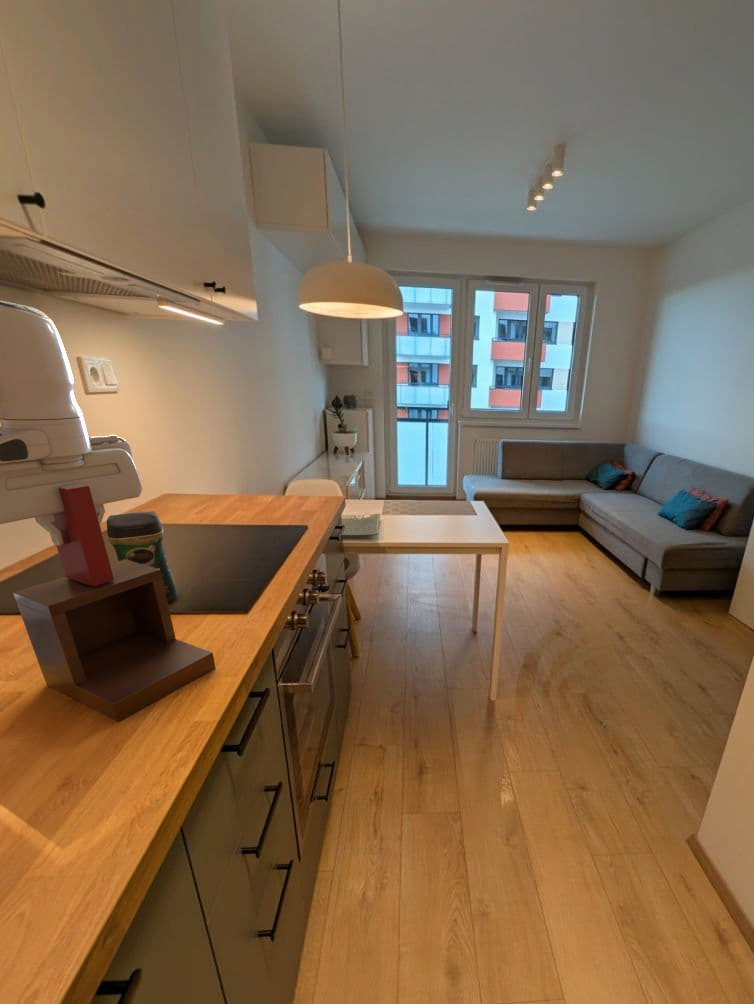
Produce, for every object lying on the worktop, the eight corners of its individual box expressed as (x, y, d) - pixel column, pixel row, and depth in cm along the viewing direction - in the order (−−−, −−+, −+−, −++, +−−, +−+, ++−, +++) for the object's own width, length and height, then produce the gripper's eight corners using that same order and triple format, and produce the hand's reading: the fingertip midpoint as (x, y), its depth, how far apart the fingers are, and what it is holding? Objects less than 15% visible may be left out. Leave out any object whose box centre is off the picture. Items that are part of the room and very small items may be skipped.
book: (66, 577, 76) (36, 482, 70) (87, 571, 78) (60, 479, 72) (93, 587, 73) (65, 488, 67) (114, 580, 75) (89, 484, 70)
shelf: (46, 685, 78) (12, 592, 71) (146, 641, 90) (125, 559, 84) (118, 722, 70) (88, 621, 64) (215, 668, 83) (198, 580, 77)
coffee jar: (177, 589, 111) (159, 506, 104) (179, 603, 105) (160, 515, 97) (126, 597, 107) (103, 511, 99) (125, 612, 101) (101, 521, 93)
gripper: (113, 431, 77) (134, 520, 83) (-59, 446, 60) (-18, 555, 66) (139, 434, 74) (159, 526, 80) (-33, 451, 58) (8, 564, 64)
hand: (78, 539), depth 73 cm, fingers closed on book, 3 cm apart
